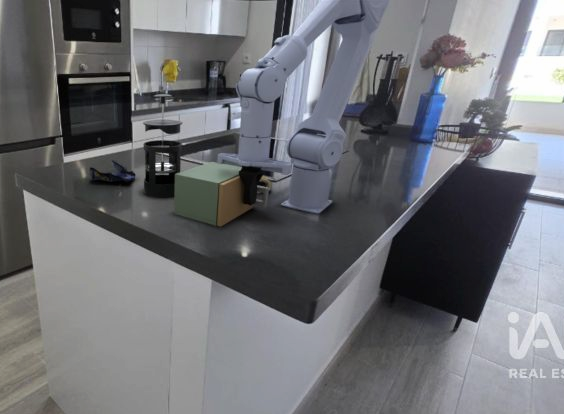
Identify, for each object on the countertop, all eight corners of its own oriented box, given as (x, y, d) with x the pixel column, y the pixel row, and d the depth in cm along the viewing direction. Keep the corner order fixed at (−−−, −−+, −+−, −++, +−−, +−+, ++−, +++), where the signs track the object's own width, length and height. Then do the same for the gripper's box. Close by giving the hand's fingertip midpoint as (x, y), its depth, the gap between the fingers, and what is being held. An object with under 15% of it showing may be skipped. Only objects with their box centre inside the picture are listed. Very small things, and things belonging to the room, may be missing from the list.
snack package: (111, 173, 110) (82, 181, 101) (113, 152, 108) (83, 158, 99) (143, 187, 104) (115, 197, 95) (147, 165, 102) (118, 173, 93)
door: (268, 211, 80) (272, 172, 77) (237, 231, 70) (241, 188, 67) (249, 206, 82) (252, 169, 80) (217, 225, 73) (219, 184, 70)
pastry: (234, 183, 99) (236, 169, 98) (260, 182, 100) (261, 168, 99) (247, 194, 91) (248, 179, 89) (274, 193, 91) (276, 178, 90)
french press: (167, 202, 86) (168, 96, 78) (133, 194, 91) (131, 95, 83) (191, 189, 95) (195, 93, 87) (160, 183, 100) (160, 92, 92)
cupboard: (248, 207, 83) (252, 168, 80) (215, 226, 73) (218, 183, 70) (209, 197, 89) (211, 161, 86) (174, 214, 79) (174, 174, 76)
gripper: (210, 134, 74) (207, 201, 78) (284, 143, 65) (276, 217, 69) (228, 130, 78) (225, 192, 83) (299, 137, 69) (291, 207, 74)
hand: (249, 203), depth 77 cm, fingers closed
